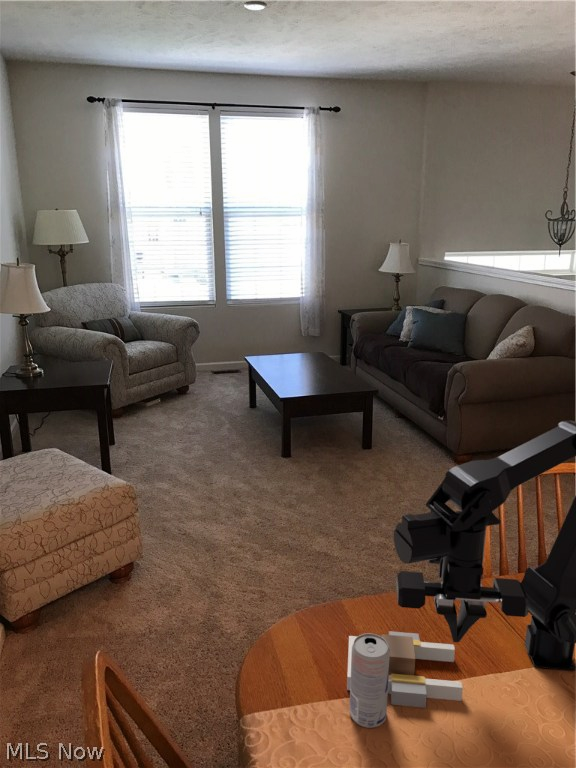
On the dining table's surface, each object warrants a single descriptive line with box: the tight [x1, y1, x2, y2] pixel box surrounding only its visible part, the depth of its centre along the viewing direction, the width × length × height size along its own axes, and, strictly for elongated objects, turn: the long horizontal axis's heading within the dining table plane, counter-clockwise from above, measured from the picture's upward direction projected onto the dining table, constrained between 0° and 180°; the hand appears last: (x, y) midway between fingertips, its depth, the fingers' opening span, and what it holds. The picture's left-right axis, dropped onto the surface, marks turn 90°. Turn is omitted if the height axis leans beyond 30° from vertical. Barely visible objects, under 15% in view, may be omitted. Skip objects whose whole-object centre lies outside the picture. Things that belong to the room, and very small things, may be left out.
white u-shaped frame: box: [346, 630, 464, 708], centre depth 94 cm, size 17×13×3 cm
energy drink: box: [349, 632, 390, 729], centre depth 85 cm, size 5×5×12 cm
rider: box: [380, 633, 416, 676], centre depth 94 cm, size 5×5×5 cm
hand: (455, 640), depth 91 cm, fingers closed
